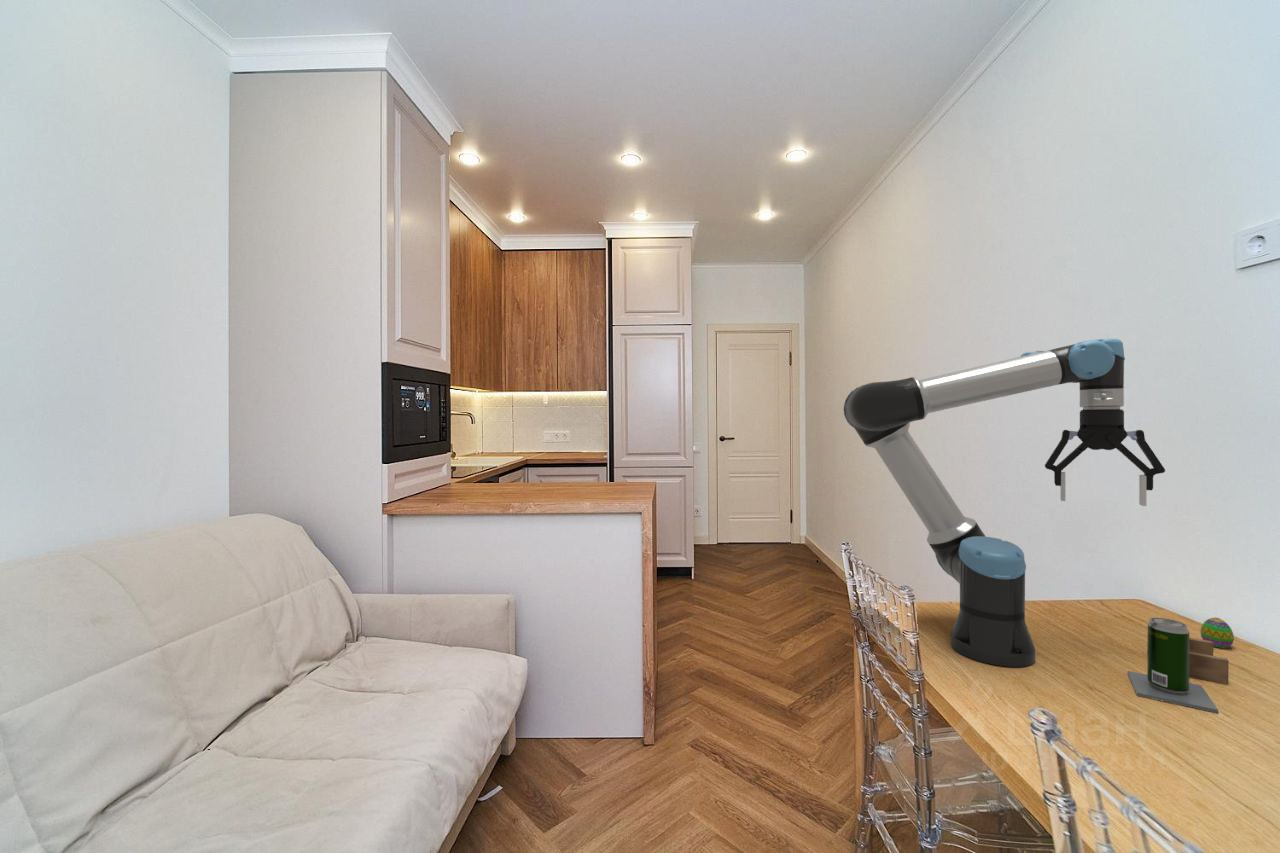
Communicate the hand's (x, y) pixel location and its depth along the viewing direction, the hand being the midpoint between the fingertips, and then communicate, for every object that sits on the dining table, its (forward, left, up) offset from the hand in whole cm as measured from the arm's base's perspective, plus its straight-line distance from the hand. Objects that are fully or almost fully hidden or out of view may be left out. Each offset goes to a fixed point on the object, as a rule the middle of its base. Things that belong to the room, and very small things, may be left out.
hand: (1101, 502), depth 119 cm
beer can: (+7, -24, -30) cm, 39 cm away
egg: (+20, +9, -31) cm, 38 cm away
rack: (+12, -9, -31) cm, 34 cm away
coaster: (+7, -24, -31) cm, 40 cm away
